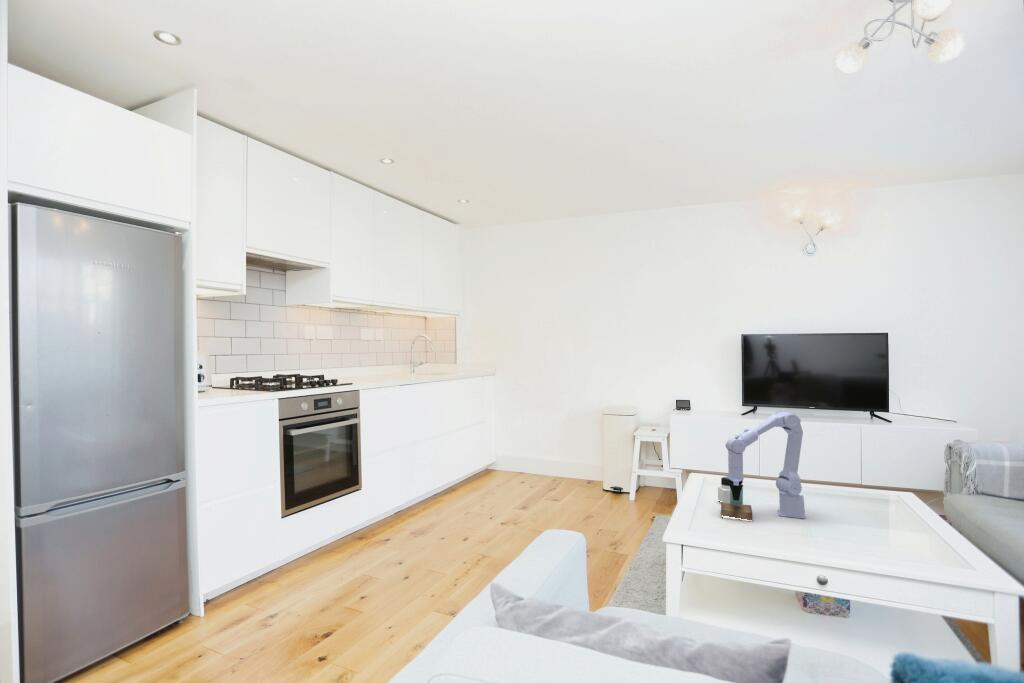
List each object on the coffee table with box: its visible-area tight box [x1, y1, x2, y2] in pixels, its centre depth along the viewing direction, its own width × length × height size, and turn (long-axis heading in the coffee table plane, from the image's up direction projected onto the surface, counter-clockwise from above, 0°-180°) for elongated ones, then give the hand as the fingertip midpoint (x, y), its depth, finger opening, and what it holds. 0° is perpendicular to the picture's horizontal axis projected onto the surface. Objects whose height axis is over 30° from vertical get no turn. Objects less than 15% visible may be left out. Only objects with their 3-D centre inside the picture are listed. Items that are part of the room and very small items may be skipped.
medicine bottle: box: [717, 476, 730, 503], centre depth 239 cm, size 7×7×12 cm
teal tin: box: [730, 487, 744, 505], centre depth 220 cm, size 5×5×6 cm
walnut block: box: [720, 502, 753, 521], centre depth 220 cm, size 12×12×4 cm
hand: (736, 498), depth 220 cm, fingers closed on teal tin, 5 cm apart
